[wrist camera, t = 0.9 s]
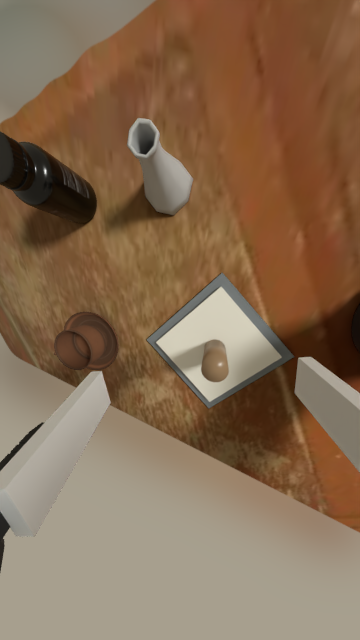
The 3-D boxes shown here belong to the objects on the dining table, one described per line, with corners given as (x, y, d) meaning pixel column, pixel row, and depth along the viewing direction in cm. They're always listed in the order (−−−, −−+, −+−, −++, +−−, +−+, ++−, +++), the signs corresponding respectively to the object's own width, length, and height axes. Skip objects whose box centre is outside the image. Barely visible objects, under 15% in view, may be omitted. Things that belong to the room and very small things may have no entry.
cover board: (280, 355, 28) (303, 382, 21) (209, 399, 33) (208, 434, 25) (221, 286, 28) (223, 289, 20) (157, 340, 32) (139, 359, 25)
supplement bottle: (65, 175, 29) (-34, 107, 17) (101, 184, 28) (22, 120, 17) (61, 219, 31) (-30, 185, 19) (95, 229, 30) (21, 199, 19)
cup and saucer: (95, 374, 38) (73, 392, 32) (60, 330, 37) (31, 340, 31) (134, 347, 34) (117, 361, 28) (96, 298, 33) (71, 302, 27)
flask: (175, 224, 27) (154, 195, 18) (138, 199, 27) (97, 158, 18) (201, 176, 25) (193, 114, 16) (161, 150, 25) (128, 73, 16)
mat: (293, 355, 28) (294, 356, 28) (208, 407, 34) (208, 408, 33) (222, 272, 27) (222, 272, 27) (147, 338, 33) (146, 339, 32)
